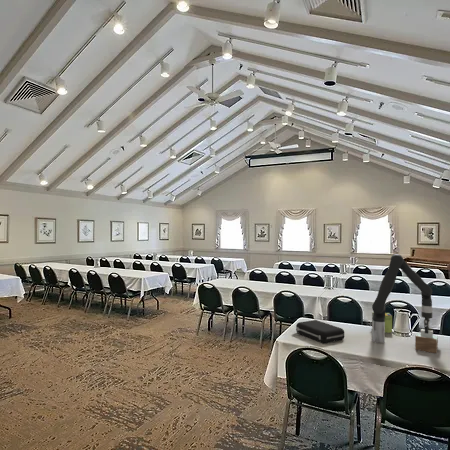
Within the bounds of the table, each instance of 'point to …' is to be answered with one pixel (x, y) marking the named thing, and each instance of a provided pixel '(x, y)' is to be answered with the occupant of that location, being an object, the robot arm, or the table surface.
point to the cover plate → (429, 335)
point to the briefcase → (320, 331)
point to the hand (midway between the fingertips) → (426, 332)
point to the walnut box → (426, 344)
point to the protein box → (386, 322)
